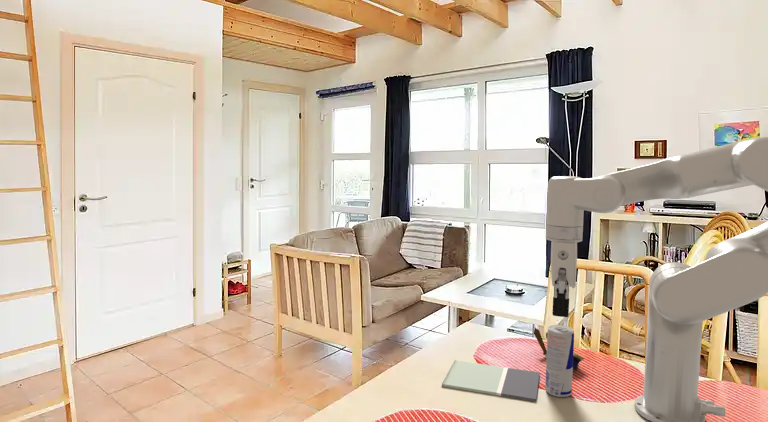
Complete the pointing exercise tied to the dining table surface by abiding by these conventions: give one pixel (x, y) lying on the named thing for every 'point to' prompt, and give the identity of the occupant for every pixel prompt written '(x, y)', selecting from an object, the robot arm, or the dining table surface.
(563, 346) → the beverage can
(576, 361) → the toy
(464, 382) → the mat
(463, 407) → the dining table surface
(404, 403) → the dining table surface
